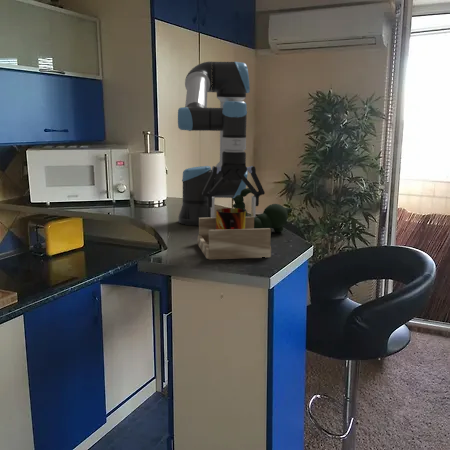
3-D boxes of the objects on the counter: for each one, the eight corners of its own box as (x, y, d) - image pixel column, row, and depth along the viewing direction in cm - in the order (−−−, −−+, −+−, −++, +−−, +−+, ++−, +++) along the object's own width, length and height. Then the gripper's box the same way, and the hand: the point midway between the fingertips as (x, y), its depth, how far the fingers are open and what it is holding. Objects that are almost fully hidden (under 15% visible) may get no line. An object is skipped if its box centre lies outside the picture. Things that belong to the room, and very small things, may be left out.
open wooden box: (197, 243, 182) (197, 217, 180) (254, 241, 186) (255, 216, 184) (207, 259, 160) (207, 230, 159) (271, 257, 164) (272, 228, 163)
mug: (231, 253, 165) (231, 215, 163) (210, 244, 177) (210, 209, 175) (257, 250, 170) (258, 213, 167) (235, 241, 182) (236, 207, 179)
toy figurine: (243, 243, 191) (299, 231, 202) (240, 191, 187) (297, 182, 198) (231, 238, 199) (285, 227, 210) (227, 188, 195) (283, 180, 206)
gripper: (196, 152, 161) (196, 219, 166) (275, 151, 166) (273, 217, 170) (193, 150, 168) (193, 215, 173) (268, 150, 173) (267, 213, 178)
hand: (233, 216), depth 172 cm, fingers open, 13 cm apart
